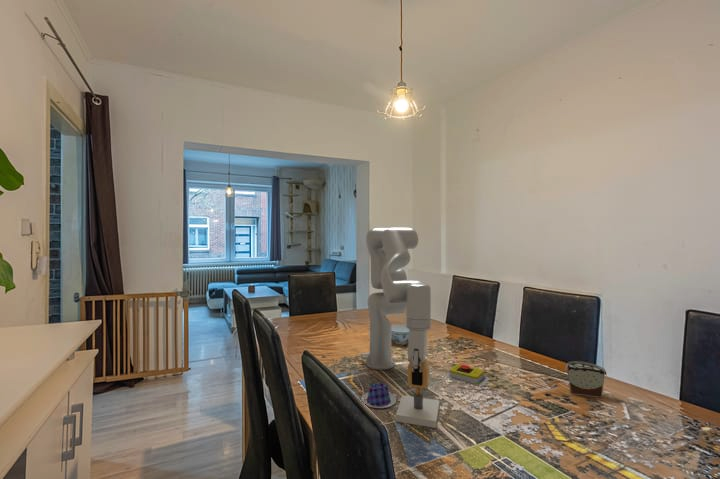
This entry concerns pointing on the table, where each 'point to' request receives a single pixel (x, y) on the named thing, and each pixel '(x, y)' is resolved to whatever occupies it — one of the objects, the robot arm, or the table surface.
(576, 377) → the food container
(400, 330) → the chinaware
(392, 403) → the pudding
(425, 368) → the tan wooden cube
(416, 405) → the board
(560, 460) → the table surface
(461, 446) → the table surface
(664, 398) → the table surface
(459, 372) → the emergency button
